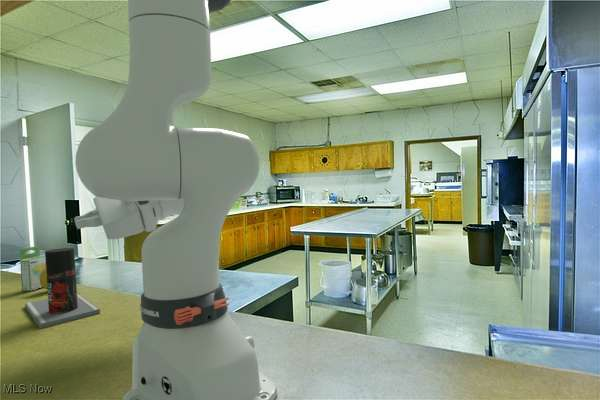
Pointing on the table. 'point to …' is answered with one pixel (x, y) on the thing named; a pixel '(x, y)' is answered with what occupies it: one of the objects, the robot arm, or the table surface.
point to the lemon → (43, 279)
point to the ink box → (31, 268)
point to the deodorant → (61, 280)
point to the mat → (45, 319)
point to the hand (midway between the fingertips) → (75, 223)
